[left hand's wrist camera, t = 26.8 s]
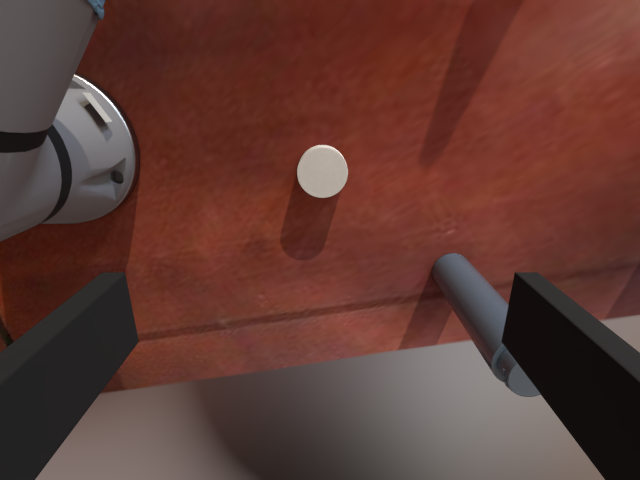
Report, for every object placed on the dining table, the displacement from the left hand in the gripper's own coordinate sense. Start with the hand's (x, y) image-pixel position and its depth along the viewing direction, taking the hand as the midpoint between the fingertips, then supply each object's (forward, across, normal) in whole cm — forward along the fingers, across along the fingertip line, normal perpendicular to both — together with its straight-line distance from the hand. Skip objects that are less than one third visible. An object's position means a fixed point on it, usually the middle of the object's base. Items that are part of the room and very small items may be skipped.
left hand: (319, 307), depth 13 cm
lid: (+27, 0, 0) cm, 27 cm away
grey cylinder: (+29, +15, -12) cm, 35 cm away
